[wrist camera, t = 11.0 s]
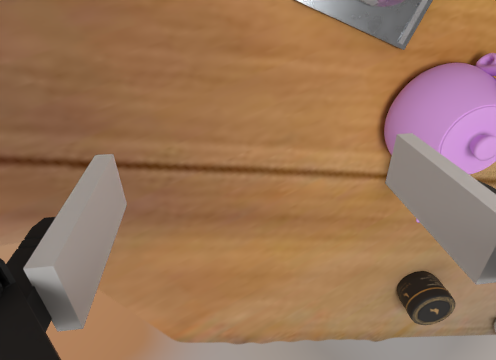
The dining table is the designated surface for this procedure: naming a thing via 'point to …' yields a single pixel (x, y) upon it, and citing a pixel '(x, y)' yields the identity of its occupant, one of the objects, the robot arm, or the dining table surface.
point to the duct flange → (376, 16)
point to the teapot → (450, 112)
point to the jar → (425, 298)
